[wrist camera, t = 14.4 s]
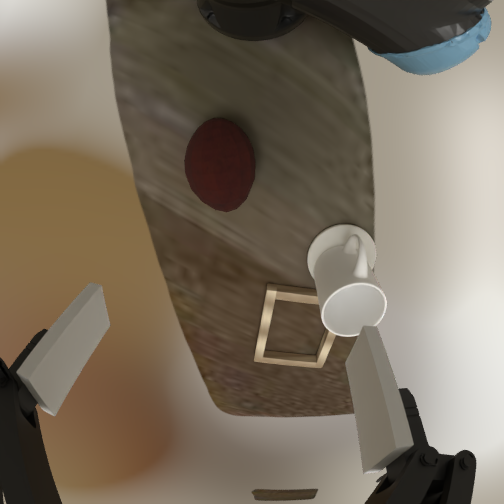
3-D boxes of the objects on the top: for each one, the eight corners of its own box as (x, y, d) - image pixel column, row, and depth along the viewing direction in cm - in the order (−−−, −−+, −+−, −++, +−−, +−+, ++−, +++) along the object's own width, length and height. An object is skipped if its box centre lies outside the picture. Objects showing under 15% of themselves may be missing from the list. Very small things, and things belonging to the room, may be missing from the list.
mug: (377, 226, 39) (404, 260, 29) (358, 293, 44) (374, 337, 35) (322, 218, 39) (336, 253, 30) (308, 289, 45) (315, 335, 35)
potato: (253, 114, 34) (246, 112, 26) (261, 199, 40) (257, 222, 31) (190, 122, 35) (165, 125, 27) (202, 204, 41) (183, 227, 32)
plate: (315, 218, 40) (315, 220, 39) (383, 230, 40) (385, 232, 39) (300, 282, 45) (301, 285, 44) (363, 290, 45) (364, 292, 44)
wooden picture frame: (267, 283, 46) (267, 290, 44) (346, 293, 45) (349, 300, 44) (254, 353, 53) (253, 361, 52) (320, 360, 53) (321, 368, 51)
